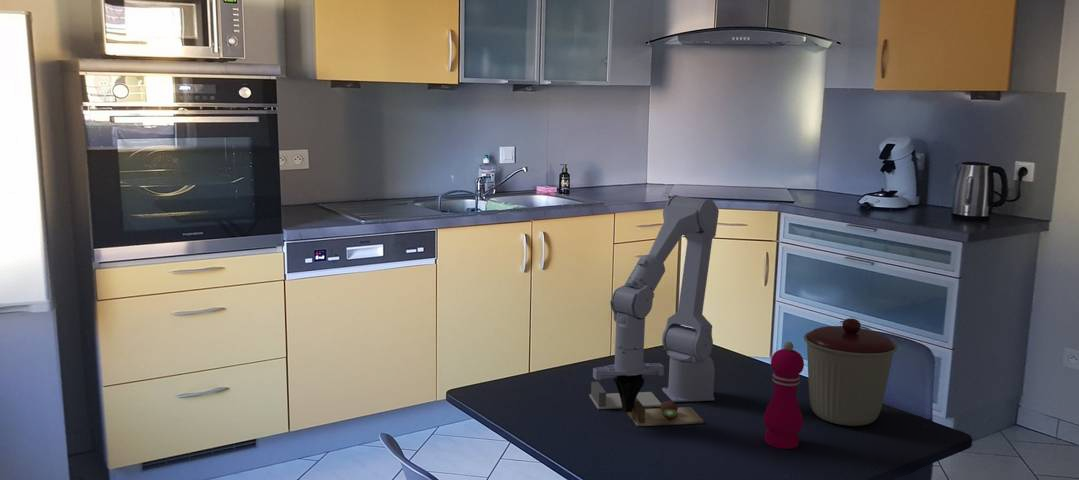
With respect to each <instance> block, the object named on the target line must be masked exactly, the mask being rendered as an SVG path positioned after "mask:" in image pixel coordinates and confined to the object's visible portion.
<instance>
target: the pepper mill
mask: <svg viewBox="0 0 1079 480" xmlns="http://www.w3.org/2000/svg"><path fill="white" fill-rule="evenodd" d="M770 367H771V369H772V371H774V372H773V373H772V378H771V380H772V382H773V384H774V388H773V394H772V396H771V399H770V401H769V403H768V405H767V406H766V408H765V411H764V414H763V419H762V420H763V424H764V426H765V428H766V429H767V430H766V431H765V433H764V442H765V443H766V444H767V445H769V446H771V447H773V448H777V449H781V450H790V449H796V448H797V447H798V446H799V443H800V435H799V434H798V433H799V432H800V431H801V430H802V429H803V425H804V421H803V420H804V419H803V413H802V411H801V408H800V405H799V402H798V397H797V396H798V395H797V390H798V385H799V384H801V381H800V380H801V376H800V374H801V373H802V372H803V370H804V367H805V361H804V357H803V356H802V354H800V353H799V352H798V351H796V350H794V344H793V343H792V342H791V341H786V342H785V343H784V344H783V348H781V349H778V350H777V351H775V352H774V353H773V354H772V356H771V358H770Z"/></svg>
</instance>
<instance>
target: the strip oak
mask: <svg viewBox="0 0 1079 480" xmlns="http://www.w3.org/2000/svg"><path fill="white" fill-rule="evenodd" d="M677 412H678V416H677V417H676V418H675V419H667V418H665V417H664V416H663V414H662V410H661V408H660V407H656V408H646V407H644V406H643V405H642V404H641V403H640V401H639V400H638V399H637V398H636V399H635V402H634V405H633V409H632V412H626V414H627V415H628V417H629V418H630V419H631V420H632V422H633V423H634V425H635V426H636V427H644V426H645V427H647V426H648V427H649V426H650V427H651V426H670V425H671V426H672V425H673V426H674V425H690V424H691V425H694V424H705V420H704V419H702V418H701V416H700V415H699V414H698V413H697V412H696V411H695V410H694V409H693V408H692V407H691V406H685V407H684V406H683V407H682V406H681V407H678V410H677Z"/></svg>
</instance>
